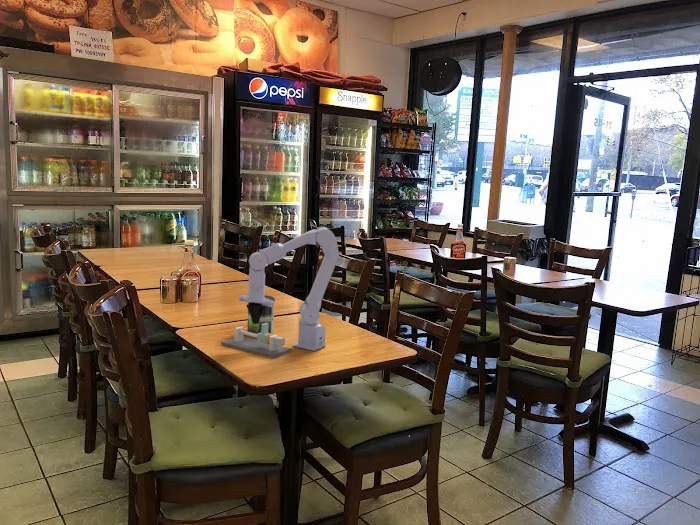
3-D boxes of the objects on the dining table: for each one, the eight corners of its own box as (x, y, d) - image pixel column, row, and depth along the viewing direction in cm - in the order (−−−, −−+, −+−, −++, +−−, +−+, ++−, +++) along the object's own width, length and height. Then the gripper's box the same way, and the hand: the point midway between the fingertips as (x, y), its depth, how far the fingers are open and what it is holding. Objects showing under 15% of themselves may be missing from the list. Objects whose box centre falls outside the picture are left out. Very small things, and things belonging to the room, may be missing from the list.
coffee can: (263, 338, 212) (264, 302, 210) (241, 333, 217) (242, 298, 215) (278, 332, 221) (280, 297, 219) (257, 327, 226) (258, 293, 224)
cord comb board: (291, 351, 198) (291, 333, 197) (273, 358, 190) (274, 339, 189) (239, 338, 210) (240, 321, 209) (220, 344, 202) (221, 327, 201)
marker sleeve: (271, 342, 198) (272, 323, 197) (266, 343, 195) (266, 325, 194) (262, 339, 200) (263, 322, 199) (257, 341, 197) (257, 323, 196)
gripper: (233, 285, 199) (232, 322, 201) (265, 291, 192) (264, 329, 194) (246, 282, 205) (245, 318, 207) (278, 288, 198) (277, 325, 200)
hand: (255, 323), depth 201 cm, fingers closed
